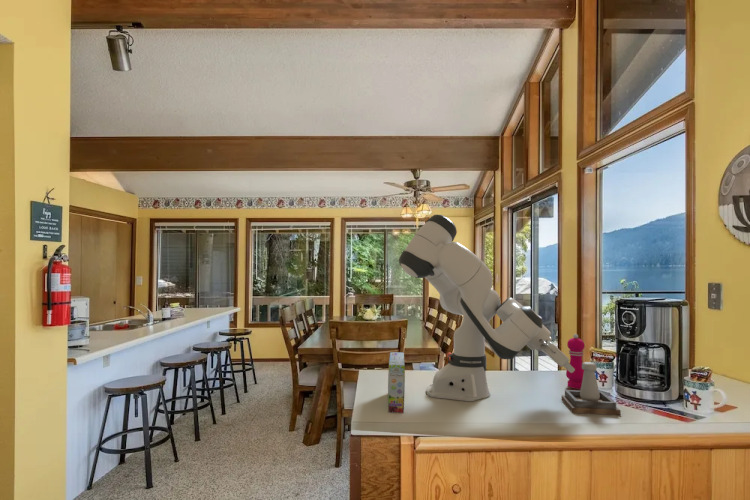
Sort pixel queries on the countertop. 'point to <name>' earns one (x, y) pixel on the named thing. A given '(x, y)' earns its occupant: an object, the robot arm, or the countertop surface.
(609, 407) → the tray
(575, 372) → the pepper mill
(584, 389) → the salt shaker
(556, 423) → the countertop surface
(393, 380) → the snack box
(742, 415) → the countertop surface
